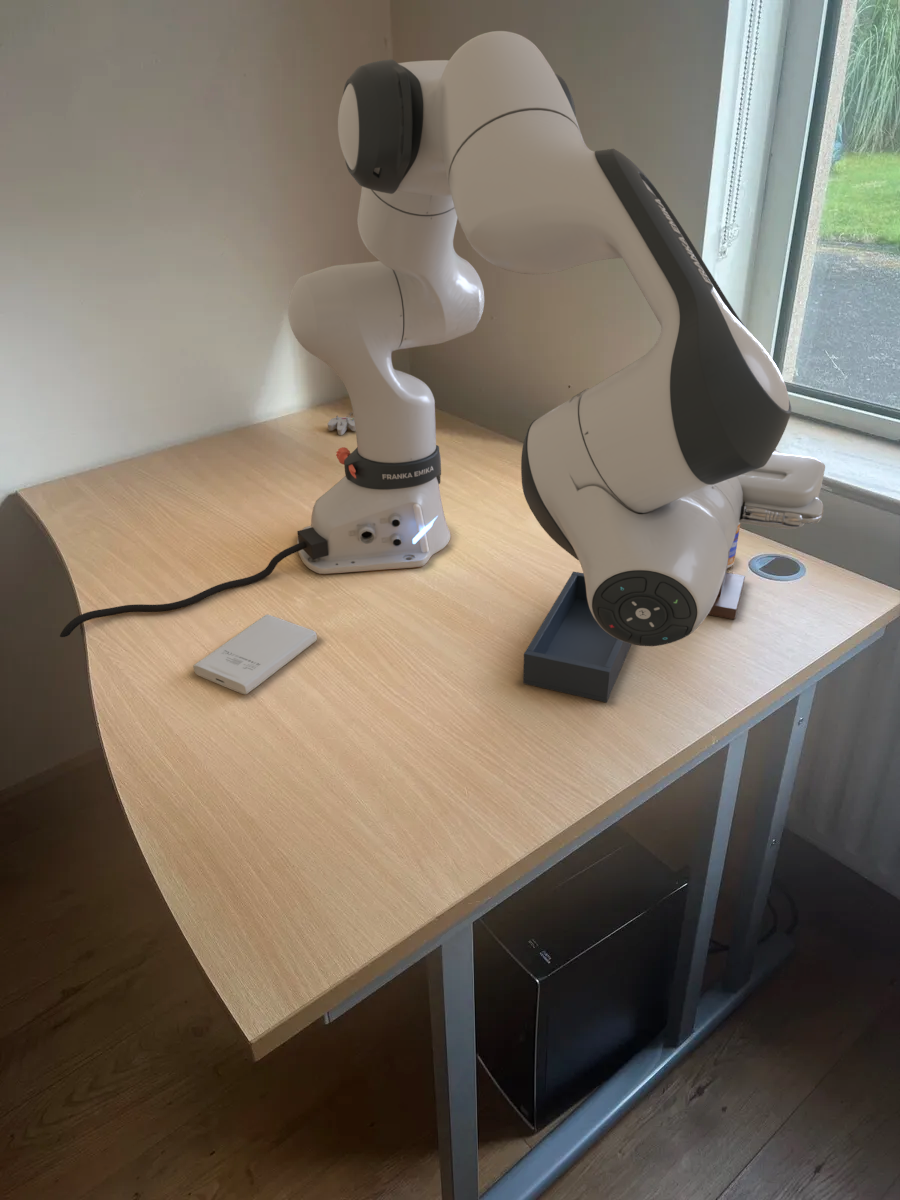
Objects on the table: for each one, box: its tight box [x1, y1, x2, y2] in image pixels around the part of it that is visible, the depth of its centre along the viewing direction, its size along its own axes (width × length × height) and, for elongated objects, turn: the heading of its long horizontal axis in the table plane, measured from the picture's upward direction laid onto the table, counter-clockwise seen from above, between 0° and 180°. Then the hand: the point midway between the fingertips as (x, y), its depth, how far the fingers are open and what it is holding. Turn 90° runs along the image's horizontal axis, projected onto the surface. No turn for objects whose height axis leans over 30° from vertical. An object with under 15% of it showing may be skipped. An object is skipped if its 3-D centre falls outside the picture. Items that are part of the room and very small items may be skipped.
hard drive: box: [192, 614, 318, 695], centre depth 102 cm, size 2×8×12 cm
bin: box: [522, 571, 632, 703], centre depth 102 cm, size 20×10×4 cm, turn 157°
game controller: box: [327, 412, 356, 436], centre depth 169 cm, size 6×12×3 cm, turn 12°
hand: (709, 440), depth 80 cm, fingers open, 8 cm apart
